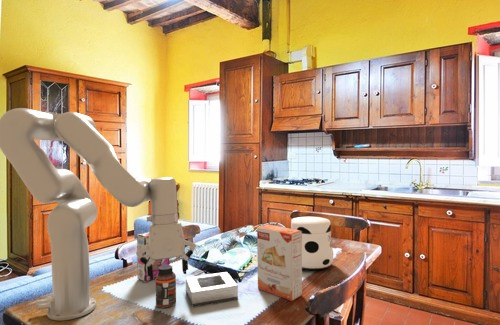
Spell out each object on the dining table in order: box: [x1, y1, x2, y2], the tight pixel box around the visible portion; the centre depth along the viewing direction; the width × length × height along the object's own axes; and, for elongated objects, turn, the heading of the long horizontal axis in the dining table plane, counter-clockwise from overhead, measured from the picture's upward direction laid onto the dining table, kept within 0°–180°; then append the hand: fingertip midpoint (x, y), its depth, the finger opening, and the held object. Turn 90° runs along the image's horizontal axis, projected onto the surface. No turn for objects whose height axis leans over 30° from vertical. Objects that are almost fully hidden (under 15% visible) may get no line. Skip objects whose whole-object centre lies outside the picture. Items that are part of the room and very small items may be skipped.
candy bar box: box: [136, 231, 170, 283], centre depth 120 cm, size 11×5×16 cm, turn 144°
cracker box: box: [256, 224, 303, 302], centre depth 105 cm, size 14×6×21 cm, turn 47°
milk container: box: [290, 216, 334, 271], centre depth 130 cm, size 17×17×18 cm
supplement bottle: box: [155, 264, 177, 309], centre depth 98 cm, size 6×6×11 cm
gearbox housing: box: [185, 271, 239, 308], centre depth 104 cm, size 14×12×4 cm
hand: (168, 275), depth 98 cm, fingers open, 9 cm apart
